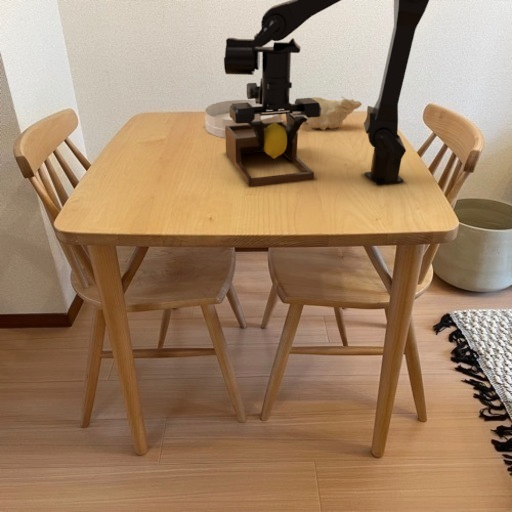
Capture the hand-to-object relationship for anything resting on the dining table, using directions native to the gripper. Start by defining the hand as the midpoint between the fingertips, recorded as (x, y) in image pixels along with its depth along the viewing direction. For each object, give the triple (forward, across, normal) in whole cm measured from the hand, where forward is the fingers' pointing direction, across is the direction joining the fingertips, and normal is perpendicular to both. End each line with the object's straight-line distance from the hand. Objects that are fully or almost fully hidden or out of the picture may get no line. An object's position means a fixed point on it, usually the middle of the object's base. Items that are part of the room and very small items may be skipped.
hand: (274, 149), depth 106 cm
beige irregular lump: (+6, -26, -30) cm, 40 cm away
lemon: (+2, 0, 0) cm, 2 cm away
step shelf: (+6, 0, -6) cm, 8 cm away
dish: (+6, -2, -36) cm, 36 cm away
